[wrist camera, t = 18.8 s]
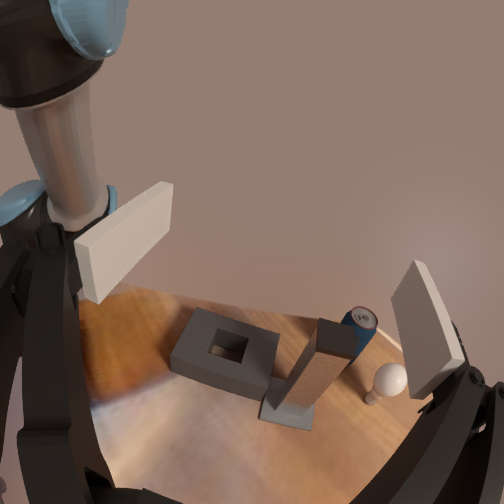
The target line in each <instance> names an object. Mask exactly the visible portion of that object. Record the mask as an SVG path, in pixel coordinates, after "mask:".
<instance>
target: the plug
mask: <svg viewBox="0 0 504 504" xmlns="http://www.w3.org/2000/svg"><path fill="white" fill-rule="evenodd" d="M355 357H356V344H355V328H354V327H351V326H348V325H344V324H340V323H337V322H333V321H329V320H326V319H322V318H319V320H318V322H317V328H316V329H315V331H314V333H313V335H312V337H311V338H310V340H309V342H308V344H307V345H306V347H305V349H304V350H303V352H302V354H301V355H300V357H299V359H298V360H297V362H296V364H295V365H294V367H293V369H292V370H291V372H290V373H289V375H288V377H287V378H286V380H285V381H284V383H283V385H282V386H281V388H280V389H279V394H278V399H277V404H276V409H275V411H277V412H281V413H285V414H289V415H294V416H298V417H302V415H303V414H304V413H305V412H306V411H307V410H308V409H309V408H310V407H311V406H312V405H313V404H314V403H315V402H316V400H317V399H318V398H319V397H320V396H321V395H322V394H323V393H324V392H325V390H326V389H327V388H328V387H329V386H330V385H331V383H332V382H333V381H334V380H335V379H336V378H337V376H338V375H339V374H340V373H341V372H342V370H343V369H344V368H345V367H346V365H347V364H348V363H349V362H350V360H354V359H355Z"/></svg>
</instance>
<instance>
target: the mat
mask: <svg viewBox="0 0 504 504" xmlns="http://www.w3.org/2000/svg"><path fill="white" fill-rule="evenodd" d="M284 381H285V380H283V379H280V378H276V377H272V376H271V377H270V382H269V386H268V389H267V391H266V393H265V397H264V401H263V405H262V409H261V413H260V417H259V420H263V421H267V422H271V423H276V424H280V425H284V426H289V427H294V428H299V429H304V430H309V431H311V430H312V423H313V415H314V406H315V403H314V404H313V405H312V406H311V407H310V408H309V409H308V410H307V411H306V412H305V413H304V414H303V415H302V417H298V416H294V415H289V414H285V413H281V412H277V411H275V409H276V404H277V399H278V394H279V389H280V388H281V386H282V385H283V383H284Z"/></svg>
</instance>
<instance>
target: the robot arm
mask: <svg viewBox="0 0 504 504" xmlns="http://www.w3.org/2000/svg"><path fill="white" fill-rule="evenodd" d="M128 2H129V0H0V106H2V107H3V108H6V109H9V110H15V113H16V116H17V119H18V122H19V125H20V129H21V131H22V134H23V137H24V140H25V143H26V145H27V148H28V150H29V153H30V155H31V158H32V160H33V163H34V165H35V167H36V169H37V172H38V174H39V177H40V179H41V180H31V181H27V182H23V183H21V184H18V185H16V186H14V187H13V188H11V189H9V190H8V191H6V192H5V193H4V194H3V195H2V196H1V197H0V234H1V238H2V242H3V245H2V246H1V248H0V462H1V457H2V452H3V443H4V434H5V425H6V417H7V411H8V405H9V399H10V394H11V389H12V384H13V379H14V375H15V371H16V367H17V363H18V359H19V356H20V352H21V348H22V345H23V353H22V398H23V413H24V427H23V428H22V429H21V430H20V431H18V434H17V448H18V455H19V461H20V466H21V471H22V475H23V480H24V485H25V489H26V492H27V496H28V500H29V503H30V504H183V503H181V502H178V501H175V500H172V499H170V498H167V497H164V496H162V495H159V494H157V493H154V492H152V491H150V490H147V489H145V488H143V489H142V490H138V489H131V488H116V487H115V484H114V482H113V479H112V476H111V473H110V471H109V468H108V466H107V463H106V461H105V460H104V458H103V456H102V453H101V451H100V448H99V444H98V440H97V437H96V433H95V429H94V424H93V420H92V415H91V410H90V405H89V400H88V395H87V389H86V382H85V376H84V368H83V360H82V351H81V340H80V326H79V301H78V295H77V292H78V291H79V290H80V289H81V288H82V287H83V292H84V296H85V298H86V299H88V300H90V301H92V302H94V303H96V304H98V305H99V304H100V303H101V301H102V300H103V299H104V298H105V297H106V296H107V295H108V294H109V293H110V291H111V290H112V289H113V288H114V287H115V286H116V285H117V284H118V283H119V282H120V280H121V279H122V278H123V277H124V276H125V275H126V274H127V273H128V272H129V271H130V270H131V269H132V268H133V267H134V266H135V265H136V263H137V262H138V261H139V260H140V259H141V258H142V257H143V256H144V255H145V254H146V253H147V252H148V251H149V250H150V249H151V248H152V247H153V246H154V245H155V244H156V243H157V242H158V241H159V240H160V239H161V238H162V237H163V236H164V235H165V234H166V233H167V232H168V231H169V230H170V219H171V206H172V195H173V184H170V183H166V182H162V181H161V182H159V183H157V184H156V185H154V186H153V187H151V188H149V189H148V190H146V191H145V192H143V193H142V194H140V195H138V196H137V197H135V198H134V199H132V200H131V201H129V202H128V203H126V204H125V205H123V206H122V207H120V208H119V209H117V208H116V207H117V191H116V188H115V187H114V186H110V185H106V184H105V182H104V181H103V180H102V179H101V177H100V176H99V175H97V173H96V166H95V158H94V150H93V140H92V129H91V115H90V92H89V81H90V80H91V79H92V78H93V77H94V76H95V75H96V74H97V73H98V72H99V70H100V69H101V67H102V65H103V62H104V58H106V57H109V56H111V55H113V54H114V53H115V52H116V51H117V49H118V47H119V45H120V43H121V39H122V36H123V31H124V27H125V20H126V10H127V7H128ZM116 209H117V210H116ZM391 301H392V305H393V309H394V313H395V317H396V322H397V326H398V331H399V336H400V340H401V346H402V351H403V356H404V362H405V367H406V374H407V380H408V387H409V394H410V398H411V399H420V400H423V399H425V398H426V397H427V396H428V395H429V394H431V393H433V398H434V399H432V400H431V401H430V402H429V403H428V404H426V405H425V406H424V407H423V408H421V409H420V410H419V411H418V412H417V413H420V412H422V411H423V412H422V414H421V416H420V417H419V419H418V420H417V422H416V423H415V425H414V426H413V428H412V429H411V431H410V432H409V434H408V435H407V436H406V438H405V439H404V441H403V442H402V443H401V445H400V446H399V447H398V449H397V450H396V451H395V453H394V454H393V455H392V457H391V458H390V459H389V460H388V462H387V463H386V464H385V465H384V466H383V468H382V469H381V470H380V471H379V472H378V473H377V475H376V476H375V477H374V478H373V479H372V480H371V481H370V483H369V484H368V485H367V486H366V487H365V488H364V489H363V490H362V491H361V492H360V493H359V494H358V495H357V496H356V497H355V498H354V499H353V500H352V501H351V502H350V503H349V504H499V503H500V500H501V495H502V491H503V486H504V383H503V382H498V383H496V384H495V385H494V386H493V387H492V388H491V387H489V386H487V385H485V380H484V377H483V375H482V373H481V372H480V371H479V370H478V369H477V368H476V367H473V366H470V364H469V361H468V358H467V355H466V352H465V349H464V346H463V345H462V341H461V338H459V337H460V336H459V333H458V331H457V328H456V327H455V325H454V324H453V322H452V321H451V320H450V318H449V315H448V313H447V311H446V308H445V306H444V304H443V301H442V299H441V297H440V294H439V292H438V290H437V288H436V286H435V284H434V281H433V279H432V277H431V275H430V273H429V271H428V269H427V267H426V265H425V263H422V262H419V261H416V260H413V262H412V264H411V265H410V267H409V269H408V271H407V272H406V274H405V276H404V277H403V279H402V281H401V282H400V284H399V286H398V287H397V289H396V291H395V292H394V294H393V296H392V297H391ZM485 423H486V426H485V429H484V430H483V431H481V432H479V428H480V427H481V426H482V425H484V424H485ZM5 491H6V484H5V481H4V480H3V479H2V478H1V477H0V504H4V503H3V499H2V493H4V492H5Z"/></svg>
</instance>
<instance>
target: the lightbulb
mask: <svg viewBox="0 0 504 504" xmlns="http://www.w3.org/2000/svg"><path fill="white" fill-rule="evenodd" d="M407 381H408V380H407V374H406V369H405V368H404V367H403V366H402V365H400V364H398V363H387V364H385V365H383V366H381V367H380V368H379V369H378V370H377V372H376V374H375V376H374V380H373V387H372V389H371V391H370V392H368V393H367V394H366V396H365V401H366V402H367V403H368V404H369V405H374V404H375V403H376V402H377V401H378V400H380V399H382V398H384V397H394V396H396V395H398V394H400V393H401V392H402V391H403V390H404V388H405V387H406V385H407Z"/></svg>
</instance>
